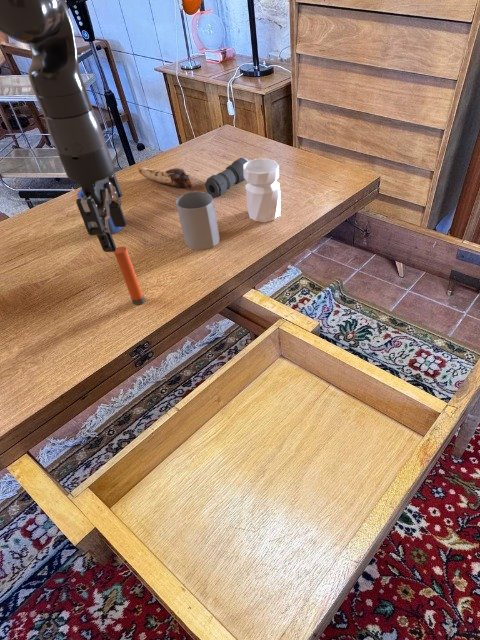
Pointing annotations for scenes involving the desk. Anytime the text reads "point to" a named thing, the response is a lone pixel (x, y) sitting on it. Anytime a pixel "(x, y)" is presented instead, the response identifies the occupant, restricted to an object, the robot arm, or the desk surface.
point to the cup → (198, 220)
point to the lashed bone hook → (167, 176)
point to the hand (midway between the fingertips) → (115, 238)
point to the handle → (129, 275)
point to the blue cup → (110, 222)
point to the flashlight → (226, 178)
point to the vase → (262, 189)
